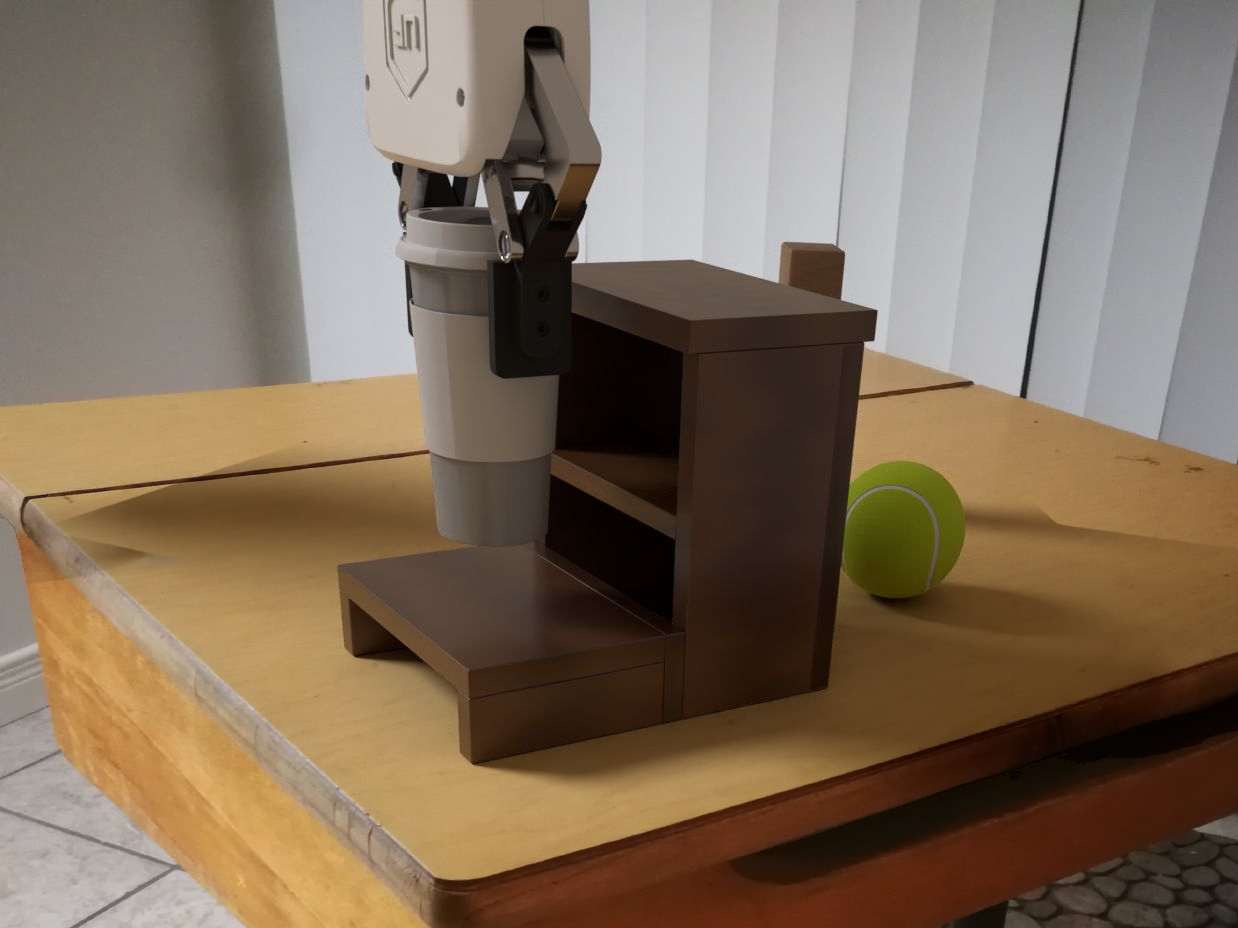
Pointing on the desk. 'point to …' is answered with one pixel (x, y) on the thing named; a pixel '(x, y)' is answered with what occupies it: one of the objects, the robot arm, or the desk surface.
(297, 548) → the desk surface
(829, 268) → the wooden block
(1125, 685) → the desk surface
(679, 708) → the shelf
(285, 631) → the desk surface
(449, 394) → the cup
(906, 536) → the tennis ball
